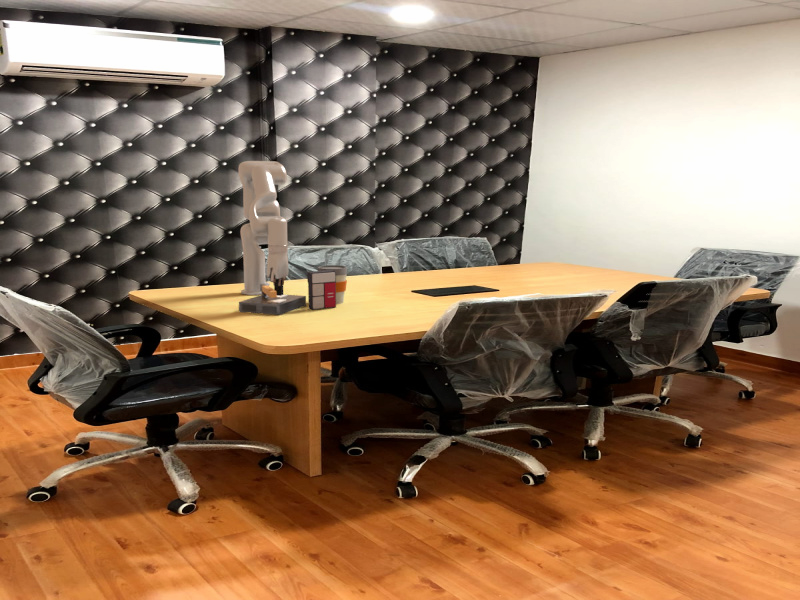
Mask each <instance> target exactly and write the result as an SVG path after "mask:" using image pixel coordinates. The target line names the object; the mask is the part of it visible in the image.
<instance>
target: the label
mask: <svg viewBox="0 0 800 600" xmlns="http://www.w3.org/2000/svg"><path fill="white" fill-rule="evenodd" d="M283 301H286V300H285V299H273V300H270V301H268V302H275V303H280V302H283Z"/></svg>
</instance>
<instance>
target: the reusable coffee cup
mask: <svg viewBox="0 0 800 600" xmlns="http://www.w3.org/2000/svg"><path fill="white" fill-rule="evenodd" d="M327 270H332V271H335V272H336V305H339V304H340V305H341V304H343V303H344V300H345V292H346V290H347V283H348V281H347V275H348V267H347V266H345V265H340V264H339V265H334V264H333V265H332V264H331V265H321V266H318V267H317V271H327Z"/></svg>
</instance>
